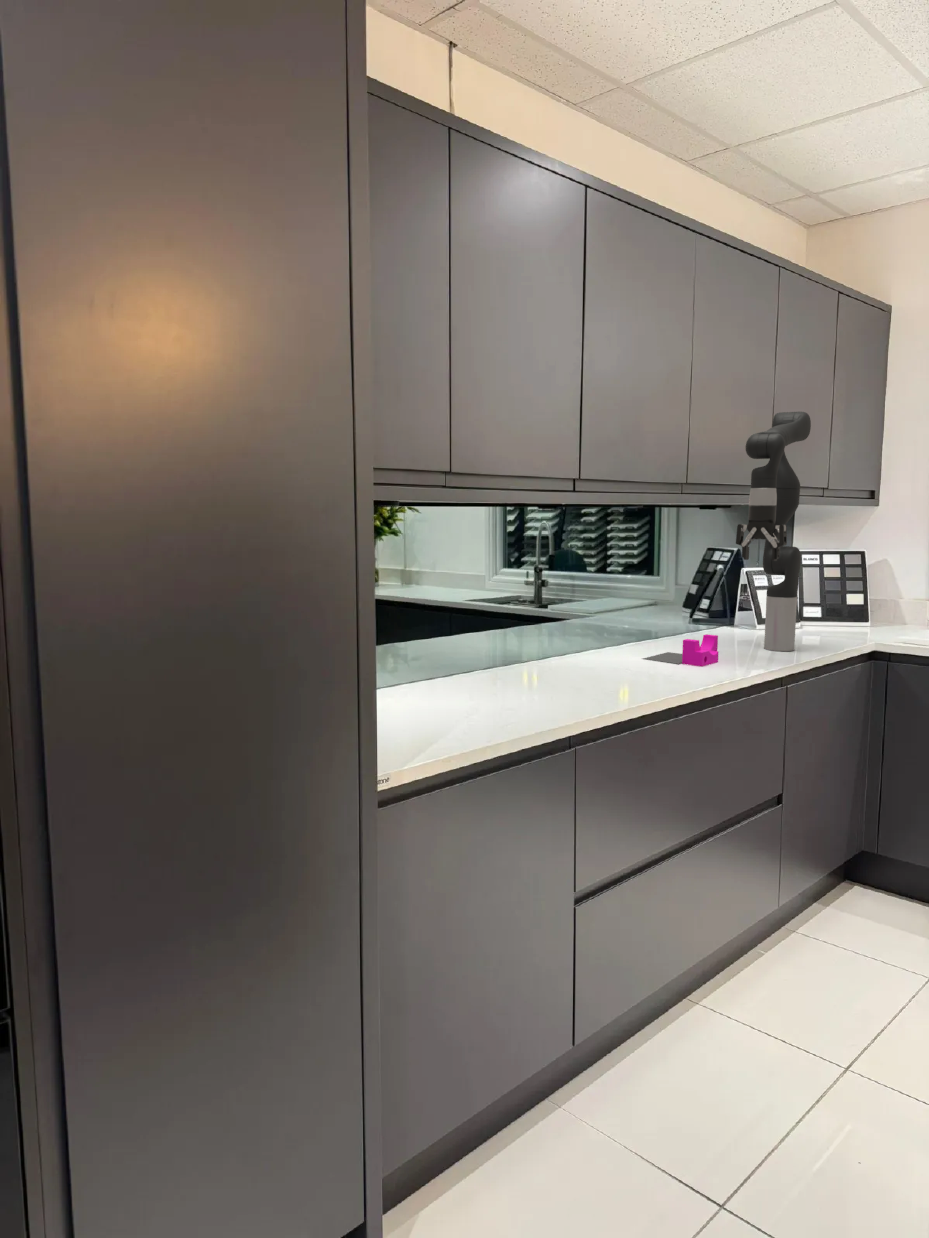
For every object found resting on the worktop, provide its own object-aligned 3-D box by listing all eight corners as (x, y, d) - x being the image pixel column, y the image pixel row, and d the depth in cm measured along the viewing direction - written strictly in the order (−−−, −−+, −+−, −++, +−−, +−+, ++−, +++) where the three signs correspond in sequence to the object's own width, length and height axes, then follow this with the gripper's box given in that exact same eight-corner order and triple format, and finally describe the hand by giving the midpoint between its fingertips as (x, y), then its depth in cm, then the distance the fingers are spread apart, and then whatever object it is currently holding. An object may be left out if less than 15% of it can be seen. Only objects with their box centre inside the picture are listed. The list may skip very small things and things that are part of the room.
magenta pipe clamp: (702, 668, 248) (703, 642, 247) (682, 665, 252) (682, 640, 251) (724, 661, 259) (725, 636, 258) (705, 658, 263) (706, 634, 262)
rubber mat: (667, 654, 270) (667, 652, 270) (703, 658, 262) (703, 656, 262) (641, 660, 258) (641, 658, 258) (678, 665, 250) (678, 663, 250)
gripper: (792, 504, 249) (789, 560, 251) (744, 504, 258) (742, 558, 260) (782, 504, 243) (779, 562, 245) (733, 504, 253) (731, 559, 255)
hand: (760, 560), depth 253 cm, fingers open, 8 cm apart
